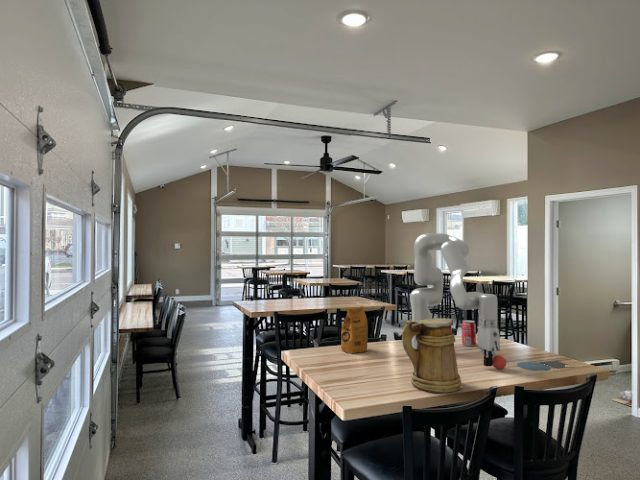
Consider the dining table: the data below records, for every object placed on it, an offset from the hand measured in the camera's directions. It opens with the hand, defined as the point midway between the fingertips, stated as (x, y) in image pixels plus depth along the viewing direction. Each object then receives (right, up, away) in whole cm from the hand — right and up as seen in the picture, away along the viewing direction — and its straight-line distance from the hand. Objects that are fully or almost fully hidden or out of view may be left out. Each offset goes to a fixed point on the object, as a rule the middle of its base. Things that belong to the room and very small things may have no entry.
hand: (487, 365), depth 180 cm
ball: (+5, +1, +1) cm, 5 cm away
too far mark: (+34, -2, +8) cm, 35 cm away
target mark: (+22, -2, +6) cm, 23 cm away
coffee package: (-55, -2, +31) cm, 63 cm away
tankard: (-30, -1, -22) cm, 38 cm away
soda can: (+8, -3, +45) cm, 45 cm away
